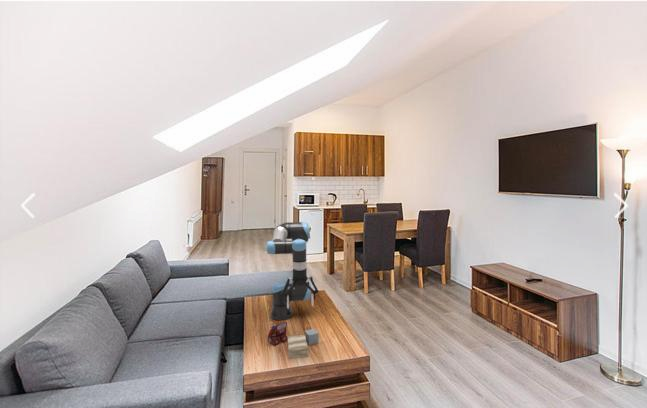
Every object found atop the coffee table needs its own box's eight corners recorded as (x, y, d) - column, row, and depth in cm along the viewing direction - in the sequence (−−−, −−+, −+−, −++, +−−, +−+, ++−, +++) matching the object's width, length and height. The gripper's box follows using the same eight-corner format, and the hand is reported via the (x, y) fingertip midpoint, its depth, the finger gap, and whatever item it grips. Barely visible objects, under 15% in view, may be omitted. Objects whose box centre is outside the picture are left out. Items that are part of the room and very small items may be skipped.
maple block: (287, 344, 176) (287, 335, 176) (305, 342, 178) (304, 334, 177) (289, 359, 161) (288, 350, 161) (307, 357, 163) (307, 348, 163)
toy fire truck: (265, 342, 178) (264, 325, 177) (283, 335, 185) (283, 319, 184) (270, 347, 172) (270, 329, 172) (289, 340, 180) (289, 323, 179)
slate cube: (305, 340, 179) (304, 330, 179) (314, 338, 182) (314, 328, 181) (309, 345, 174) (308, 335, 174) (318, 342, 177) (318, 332, 176)
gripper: (276, 272, 160) (277, 311, 162) (323, 268, 165) (323, 306, 167) (276, 268, 167) (277, 305, 169) (320, 264, 172) (321, 301, 174)
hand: (300, 306), depth 168 cm, fingers open, 13 cm apart
